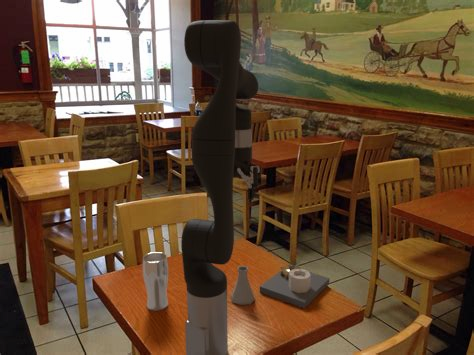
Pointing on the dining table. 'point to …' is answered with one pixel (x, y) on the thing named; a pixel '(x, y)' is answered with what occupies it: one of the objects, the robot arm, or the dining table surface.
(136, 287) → the dining table surface
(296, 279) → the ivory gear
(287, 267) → the brass gear
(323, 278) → the board
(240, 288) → the flask
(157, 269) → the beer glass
